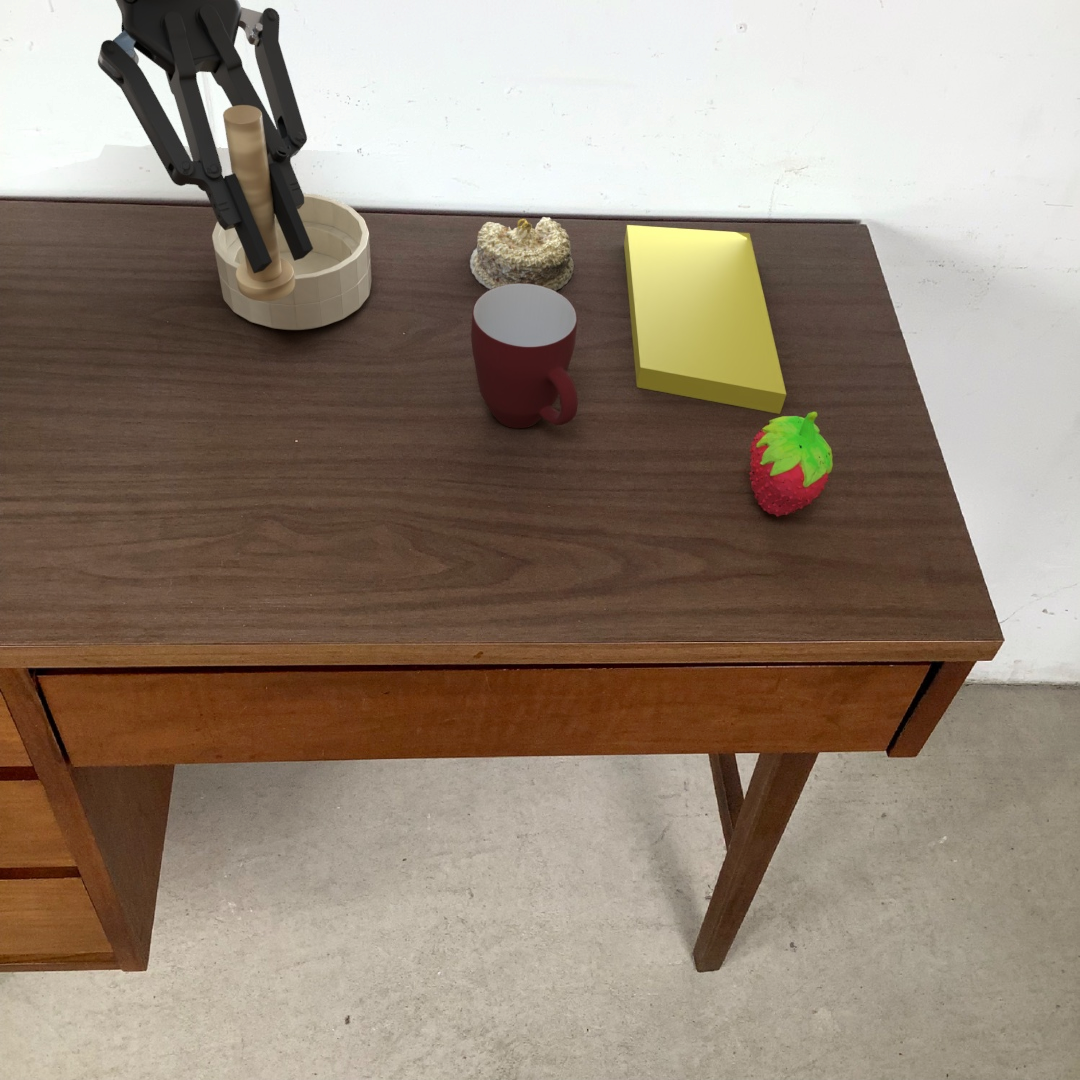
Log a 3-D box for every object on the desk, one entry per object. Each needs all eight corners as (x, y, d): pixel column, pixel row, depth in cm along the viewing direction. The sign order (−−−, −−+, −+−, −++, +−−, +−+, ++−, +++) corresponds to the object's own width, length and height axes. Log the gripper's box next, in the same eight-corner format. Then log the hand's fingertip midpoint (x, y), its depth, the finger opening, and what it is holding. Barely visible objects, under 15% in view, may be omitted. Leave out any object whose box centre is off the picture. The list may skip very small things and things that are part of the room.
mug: (607, 431, 88) (624, 334, 80) (539, 477, 83) (549, 379, 76) (517, 368, 92) (525, 270, 85) (448, 409, 88) (449, 309, 80)
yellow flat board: (624, 244, 106) (638, 405, 90) (627, 225, 104) (642, 386, 88) (744, 252, 106) (779, 414, 91) (749, 233, 105) (786, 394, 89)
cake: (589, 292, 101) (596, 246, 97) (489, 312, 98) (493, 265, 94) (550, 228, 106) (556, 181, 102) (455, 244, 103) (456, 197, 99)
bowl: (263, 354, 91) (254, 296, 86) (198, 275, 97) (187, 217, 93) (398, 307, 96) (396, 250, 92) (327, 235, 103) (322, 178, 99)
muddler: (253, 308, 82) (226, 135, 71) (228, 278, 84) (198, 107, 73) (305, 290, 83) (286, 120, 73) (279, 262, 86) (257, 93, 75)
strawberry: (806, 474, 86) (842, 379, 78) (816, 543, 81) (855, 448, 74) (735, 467, 86) (764, 371, 78) (740, 536, 81) (772, 440, 73)
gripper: (240, -54, 81) (361, 244, 85) (31, -19, 74) (173, 304, 78) (263, -109, 74) (393, 218, 78) (36, -75, 67) (191, 280, 72)
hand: (283, 260), depth 78 cm, fingers closed on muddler, 3 cm apart
